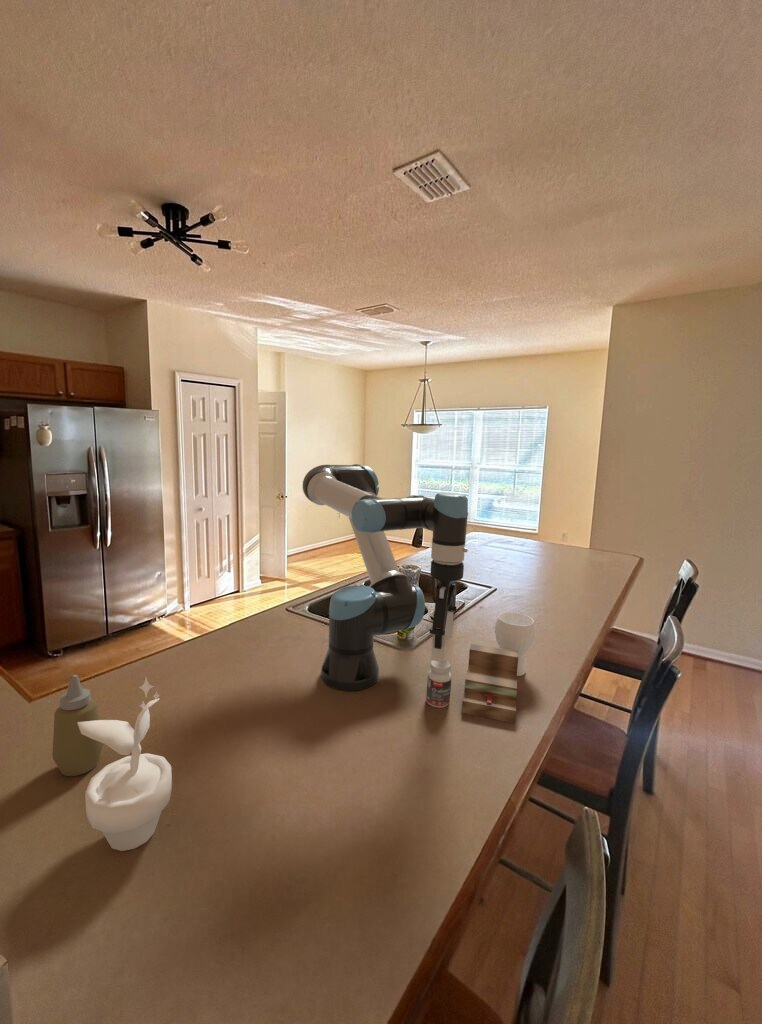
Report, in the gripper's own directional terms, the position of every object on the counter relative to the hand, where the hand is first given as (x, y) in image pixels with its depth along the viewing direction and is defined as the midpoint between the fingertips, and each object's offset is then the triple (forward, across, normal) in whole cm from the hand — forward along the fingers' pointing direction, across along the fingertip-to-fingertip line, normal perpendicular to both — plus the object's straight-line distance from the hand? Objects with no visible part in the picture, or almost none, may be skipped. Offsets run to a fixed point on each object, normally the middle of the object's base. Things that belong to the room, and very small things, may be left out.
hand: (442, 647), depth 109 cm
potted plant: (+14, -53, +40) cm, 68 cm away
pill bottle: (+14, 0, 0) cm, 14 cm away
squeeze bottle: (+14, -44, +60) cm, 76 cm away
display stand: (+14, +6, -12) cm, 19 cm away
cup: (+14, +23, -17) cm, 32 cm away
